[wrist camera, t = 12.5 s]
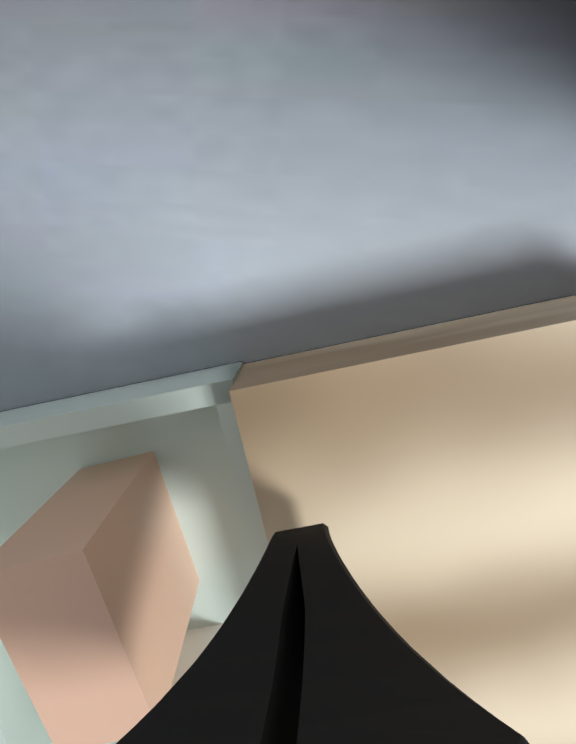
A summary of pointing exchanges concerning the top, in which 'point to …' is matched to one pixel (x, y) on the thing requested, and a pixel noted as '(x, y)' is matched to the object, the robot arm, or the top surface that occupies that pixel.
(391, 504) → the board
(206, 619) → the tray
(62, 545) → the tile terracotta
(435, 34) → the top surface
